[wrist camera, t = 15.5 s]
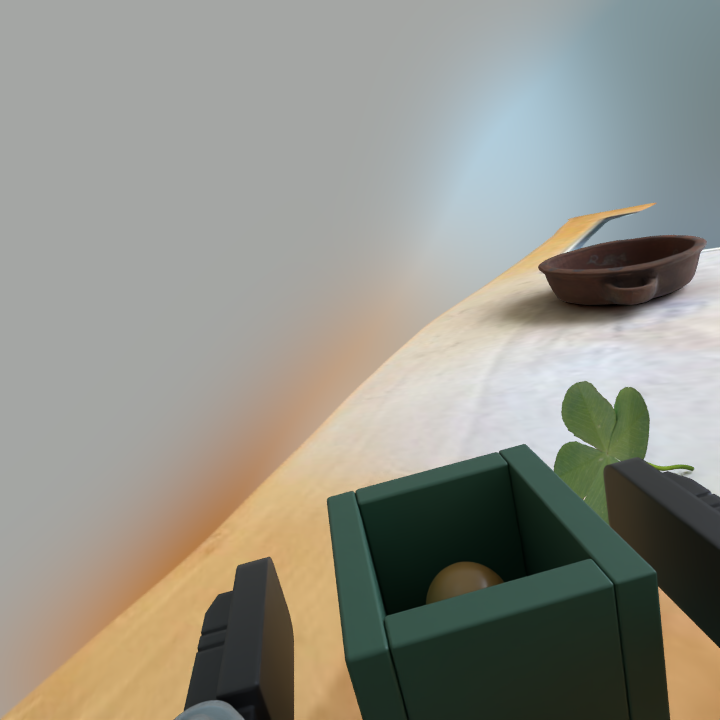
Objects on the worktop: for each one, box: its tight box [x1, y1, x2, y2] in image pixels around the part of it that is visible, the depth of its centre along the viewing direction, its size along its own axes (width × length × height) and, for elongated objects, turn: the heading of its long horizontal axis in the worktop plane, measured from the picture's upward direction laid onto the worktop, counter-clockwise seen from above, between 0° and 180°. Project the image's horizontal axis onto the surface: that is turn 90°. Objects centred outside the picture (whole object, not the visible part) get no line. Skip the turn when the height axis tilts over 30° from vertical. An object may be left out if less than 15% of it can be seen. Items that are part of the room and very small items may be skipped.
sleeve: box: [327, 444, 670, 720], centre depth 12 cm, size 5×5×9 cm
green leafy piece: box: [554, 381, 694, 526], centre depth 27 cm, size 7×8×7 cm
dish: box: [538, 235, 707, 305], centre depth 63 cm, size 18×22×5 cm
